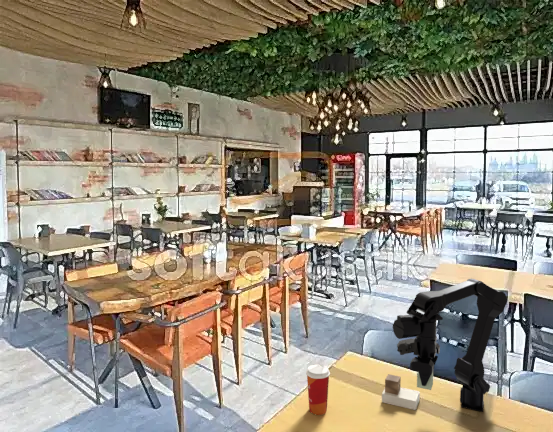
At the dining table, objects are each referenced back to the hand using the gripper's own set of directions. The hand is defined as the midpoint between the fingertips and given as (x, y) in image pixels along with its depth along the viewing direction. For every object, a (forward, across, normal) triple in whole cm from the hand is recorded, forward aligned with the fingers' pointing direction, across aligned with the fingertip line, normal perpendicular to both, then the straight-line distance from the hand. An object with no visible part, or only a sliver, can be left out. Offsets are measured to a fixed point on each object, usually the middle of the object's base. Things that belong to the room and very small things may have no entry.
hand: (425, 382), depth 135 cm
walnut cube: (+8, -6, -11) cm, 15 cm away
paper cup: (+11, +12, -31) cm, 35 cm away
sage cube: (+1, 0, 0) cm, 1 cm away
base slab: (+11, -6, -8) cm, 15 cm away
